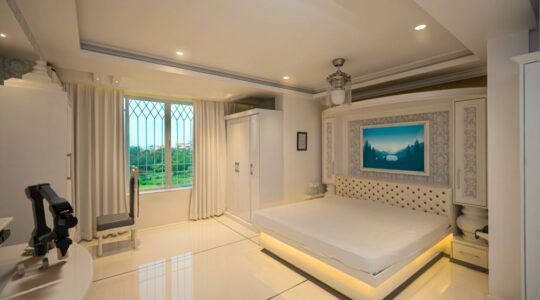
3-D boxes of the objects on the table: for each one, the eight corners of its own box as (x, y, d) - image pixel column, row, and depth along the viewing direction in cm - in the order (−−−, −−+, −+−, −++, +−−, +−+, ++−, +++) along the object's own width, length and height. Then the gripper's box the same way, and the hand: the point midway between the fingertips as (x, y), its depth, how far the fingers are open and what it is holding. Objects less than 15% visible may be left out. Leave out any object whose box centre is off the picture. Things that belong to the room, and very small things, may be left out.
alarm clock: (21, 247, 141) (54, 233, 153) (24, 254, 142) (56, 240, 154) (26, 251, 134) (60, 237, 147) (29, 259, 135) (62, 244, 148)
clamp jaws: (18, 272, 116) (17, 265, 116) (47, 263, 123) (47, 257, 123) (18, 276, 112) (18, 269, 112) (48, 267, 119) (48, 260, 119)
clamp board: (19, 271, 118) (18, 269, 118) (46, 263, 125) (46, 261, 125) (19, 281, 110) (19, 279, 110) (49, 272, 117) (49, 270, 117)
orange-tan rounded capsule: (56, 258, 126) (56, 246, 125) (67, 255, 129) (67, 243, 128) (58, 260, 123) (57, 249, 122) (69, 257, 126) (68, 246, 125)
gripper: (38, 225, 125) (40, 255, 126) (41, 234, 113) (43, 267, 113) (65, 220, 133) (67, 247, 134) (71, 227, 121) (73, 258, 121)
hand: (62, 255), depth 126 cm, fingers closed on orange-tan rounded capsule, 4 cm apart
